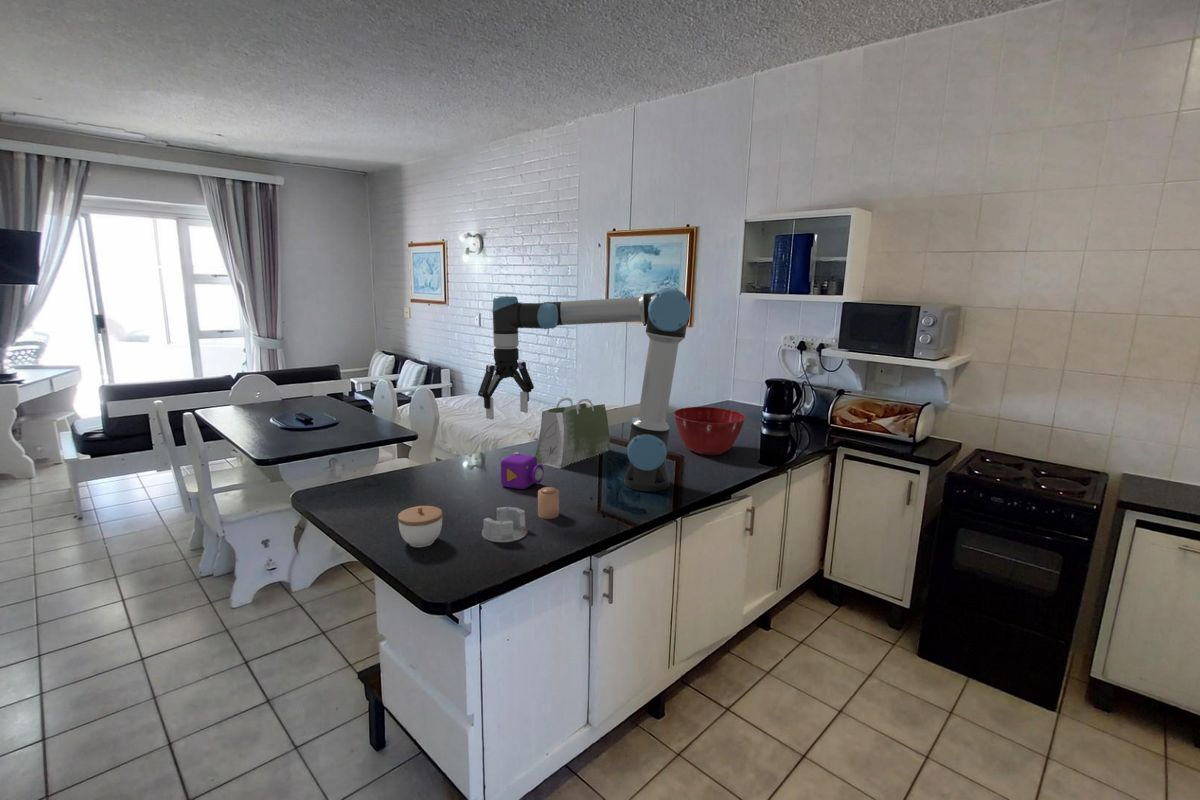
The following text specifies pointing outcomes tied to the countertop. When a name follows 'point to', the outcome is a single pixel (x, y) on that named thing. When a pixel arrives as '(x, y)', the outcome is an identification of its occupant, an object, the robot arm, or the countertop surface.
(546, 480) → the countertop surface
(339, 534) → the countertop surface
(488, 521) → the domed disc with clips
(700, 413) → the mixing bowl
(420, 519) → the lidded jar
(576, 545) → the countertop surface
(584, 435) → the grocery bag
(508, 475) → the toy camera
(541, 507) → the tan tapered cylinder
